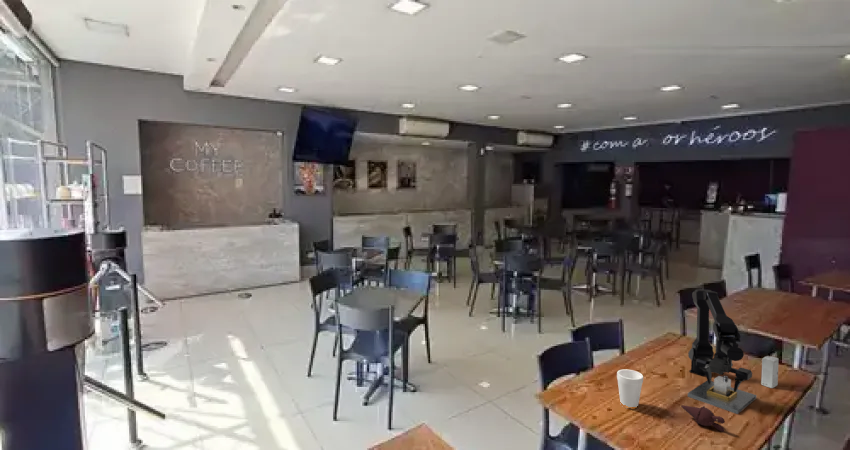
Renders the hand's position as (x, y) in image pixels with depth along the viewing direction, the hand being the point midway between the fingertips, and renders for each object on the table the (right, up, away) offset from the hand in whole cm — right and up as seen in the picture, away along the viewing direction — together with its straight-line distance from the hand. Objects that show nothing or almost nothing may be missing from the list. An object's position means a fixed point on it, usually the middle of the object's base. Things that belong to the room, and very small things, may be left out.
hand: (722, 387), depth 182 cm
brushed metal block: (0, -4, 0) cm, 4 cm away
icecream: (-21, -7, -19) cm, 29 cm away
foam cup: (-41, -6, -5) cm, 42 cm away
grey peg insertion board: (0, -4, 0) cm, 4 cm away
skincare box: (+28, -3, +11) cm, 30 cm away
